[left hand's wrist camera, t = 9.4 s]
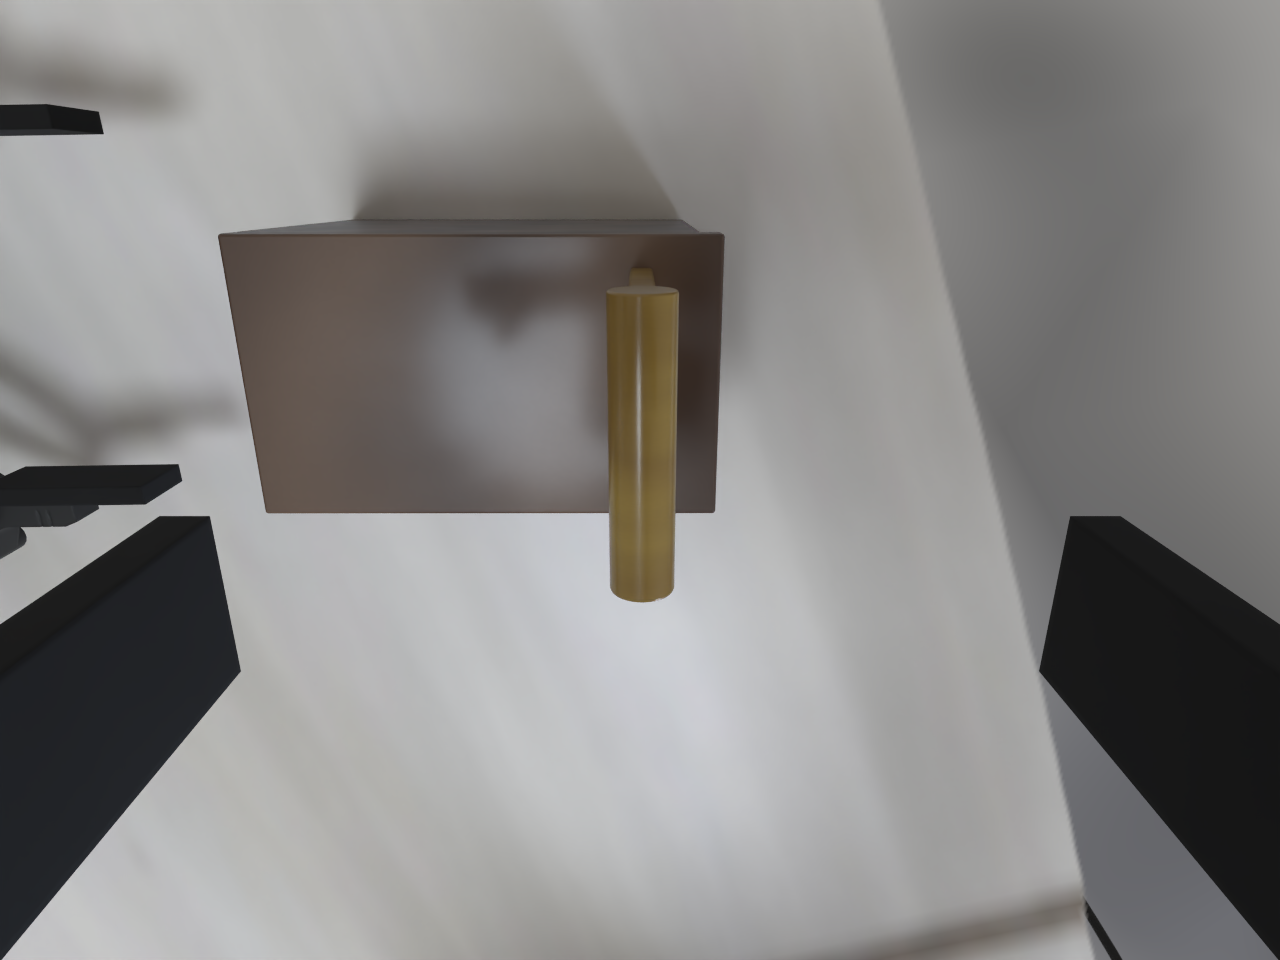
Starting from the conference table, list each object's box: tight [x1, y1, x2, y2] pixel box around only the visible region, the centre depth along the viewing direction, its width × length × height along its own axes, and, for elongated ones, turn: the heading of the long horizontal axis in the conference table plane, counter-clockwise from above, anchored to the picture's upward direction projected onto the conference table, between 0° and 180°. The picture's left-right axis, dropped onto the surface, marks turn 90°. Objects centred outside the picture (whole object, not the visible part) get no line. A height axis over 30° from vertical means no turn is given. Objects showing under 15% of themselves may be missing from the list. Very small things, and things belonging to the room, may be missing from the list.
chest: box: [241, 220, 699, 232], centre depth 32 cm, size 15×9×11 cm, turn 90°
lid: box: [218, 232, 725, 602], centre depth 23 cm, size 15×9×9 cm, turn 90°
